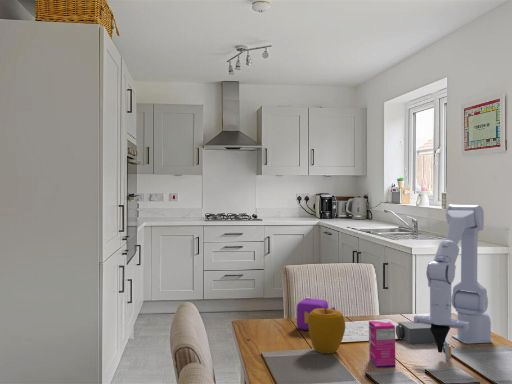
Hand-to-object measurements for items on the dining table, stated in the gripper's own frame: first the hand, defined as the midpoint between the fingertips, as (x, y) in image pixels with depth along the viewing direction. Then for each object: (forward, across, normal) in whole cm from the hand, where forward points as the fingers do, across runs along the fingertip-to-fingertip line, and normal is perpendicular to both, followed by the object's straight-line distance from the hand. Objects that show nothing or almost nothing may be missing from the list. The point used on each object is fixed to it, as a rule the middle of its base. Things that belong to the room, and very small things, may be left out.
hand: (440, 351), depth 138 cm
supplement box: (+2, -13, -13) cm, 18 cm away
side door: (+2, +1, +7) cm, 8 cm away
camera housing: (+2, -9, +16) cm, 18 cm away
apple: (+2, -31, -10) cm, 32 cm away
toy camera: (+2, -43, +10) cm, 44 cm away
